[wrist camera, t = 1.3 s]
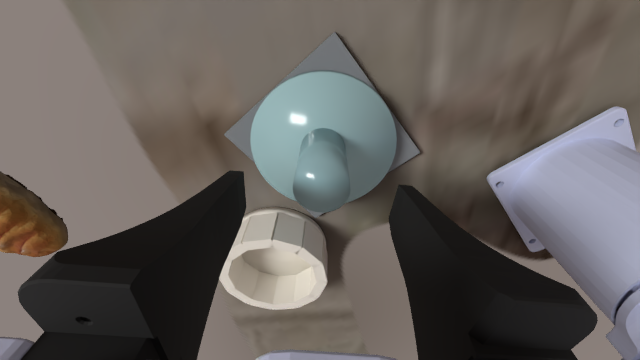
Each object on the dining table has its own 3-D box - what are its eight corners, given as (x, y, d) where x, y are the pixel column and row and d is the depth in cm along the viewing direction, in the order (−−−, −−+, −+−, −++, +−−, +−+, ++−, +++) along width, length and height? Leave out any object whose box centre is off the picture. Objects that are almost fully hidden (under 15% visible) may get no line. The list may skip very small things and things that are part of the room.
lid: (420, 152, 18) (450, 201, 13) (315, 218, 21) (312, 274, 17) (335, 32, 14) (337, 44, 10) (224, 134, 17) (189, 178, 13)
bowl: (345, 248, 23) (347, 284, 20) (279, 284, 26) (273, 320, 23) (279, 189, 20) (271, 221, 17) (212, 238, 23) (196, 272, 20)
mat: (418, 149, 18) (420, 152, 18) (315, 214, 21) (315, 218, 21) (334, 31, 14) (334, 32, 14) (226, 132, 18) (224, 134, 17)
